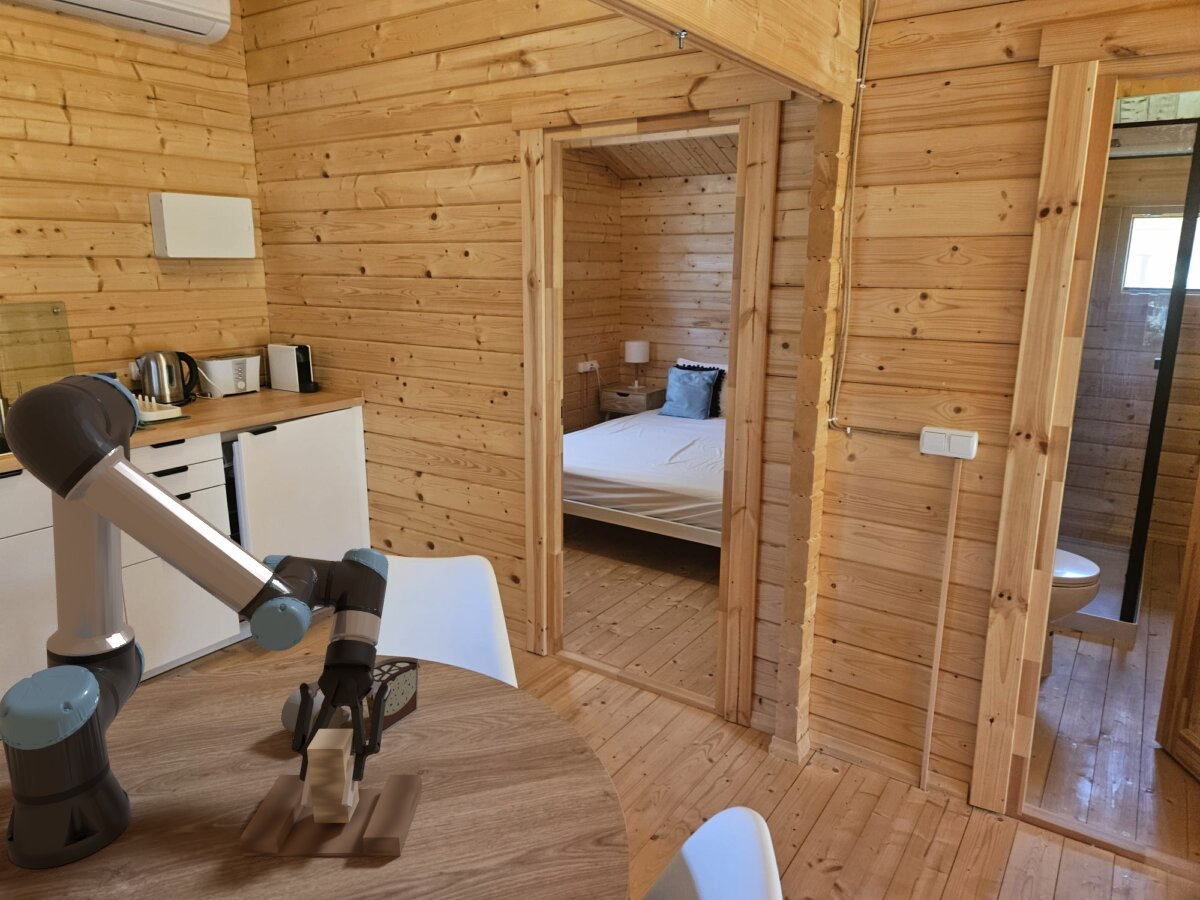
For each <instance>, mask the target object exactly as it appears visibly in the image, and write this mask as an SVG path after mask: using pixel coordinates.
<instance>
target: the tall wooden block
mask: <svg viewBox="0 0 1200 900" xmlns="http://www.w3.org/2000/svg"><path fill="white" fill-rule="evenodd" d="M354 751H355V748H354V738H353V728H339V729H319V730H318V732H317V733H316V735H315V737H314V738H313V740H312V742H311V743H310V745H309V747H308V748H307V754H308V764H309V774H310V783H311V793H312V803H313V814H314V823H349V822H350V819H351V817H352V815H353V813H354V810H355V808H356V806H357V804H358V802H359V792H358V789H359V784H358V782H359V781H356V783H355V790H354V797H353V804H352V807H346V806H344V805H342V798H343V791H344V785H345V779H346V773H347V766H348V760H349V756H355V753H354Z"/></svg>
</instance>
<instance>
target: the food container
mask: <svg viewBox="0 0 1200 900" xmlns="http://www.w3.org/2000/svg"><path fill="white" fill-rule="evenodd" d="M419 669H421V664H420V661H419V658H418V657H417V658H416V657H411V656H395V657H390V658H386V659H381V660H380V661H377V662H376V661H375V667H374V673H373V675H374V678H375V681H376V682H379V683H381V684H382V683H386V684H387V685H388V686H389V687H390V688H391V693H390V695H389V697H388V699H387V701H386V705H385V713H384V721H383V730H382V735H383V734H385V733H386V732H387V731H389V730H390V729H391V728H393V727H395V726H396V725H398V724H399V723H401V722H402V721H404V720H405V719H406V718H408V717H410V716H411V715H412V714H414V713H416V712H417V711H418V693H419V692H418V688H419V686H418V685H419V684H418V683H419ZM374 698H375V696H374V695H373V689H372V690H371V691H370V692H369V693H368V694H367V696H366V697H365V699H366V706H367V710H368V717H369V722H370V724H371V719H372V711H373V703H374Z"/></svg>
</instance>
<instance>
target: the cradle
mask: <svg viewBox="0 0 1200 900" xmlns="http://www.w3.org/2000/svg"><path fill="white" fill-rule="evenodd" d="M299 775H300V774H279V775H278V777H277V778H276V780H275V781H274V783H273V785H272V786H271V788H270V789H269V791H268V793H267V794H266V795H265V798H264V799H263V800H262V802H261V803H260V805H259V807H258V809H257V810H256V812H255V814H254V815H253V816H252V818H251V820H250V821H249V823H248V825H247V826H246V828H245V830H244V831H243V832H242V834H241V835H240V846H241V853H242V857H401V856H402V853H403V849H404V846H405V843H406V841H407V839H408V838H407V837H408V835H409V832H410V830H411V826H412V822H413V820H414V816H415V814H416V811H417V808H418V806H419V802H420V800H421V796H422V793H423V783H422V782H423V780H422V774H388V776H387V779H386V781H385V783H384V785H383V788H358V792H359V802H358V804H357V806H356V808H355V810H354V813H353V815H352V817H351V819H350V822H349V823H314V814H313V805H312V807H305V806H303V805H301V800H302V795H303V789H304V784H305V781H302V780H300V777H299Z"/></svg>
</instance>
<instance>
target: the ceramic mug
mask: <svg viewBox="0 0 1200 900" xmlns="http://www.w3.org/2000/svg"><path fill="white" fill-rule="evenodd" d="M323 700H324V695H323V693H322V692H319V691H318V692H317V696H316V697H315V698H314V705H313V710H312V715H311V720H310V726H309V731H308V736H307V739H308V737H309V735H310V733H311V731H312V728H313V726H314V724H315V721H316V719H317V717H318V714H319V712H320V710H321V704H322V702H323ZM300 701H301V695H300V688H299V689H296V690H295V691H293V692H292V693H291V694H290V695H289V696H288V698H287V699H286V701H285V702H284V704H283V707H282V709H281V718H280V719H281V722H282V723H281V724H282V726H283V727H284V729H286V730H287V731H289V732H292V733H294V731H295V726H296V721H297V716H298V711H299V706H300ZM350 717H351V711H349V710H347V709H345V708H343V706H342V707H337V709H336V712H335V713H334V714H333V716H332V718H331V721H330V723H329V725H328V728H327V729H341V725H342V724H346V723H348V721H349V720H350V719H349V718H350Z"/></svg>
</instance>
